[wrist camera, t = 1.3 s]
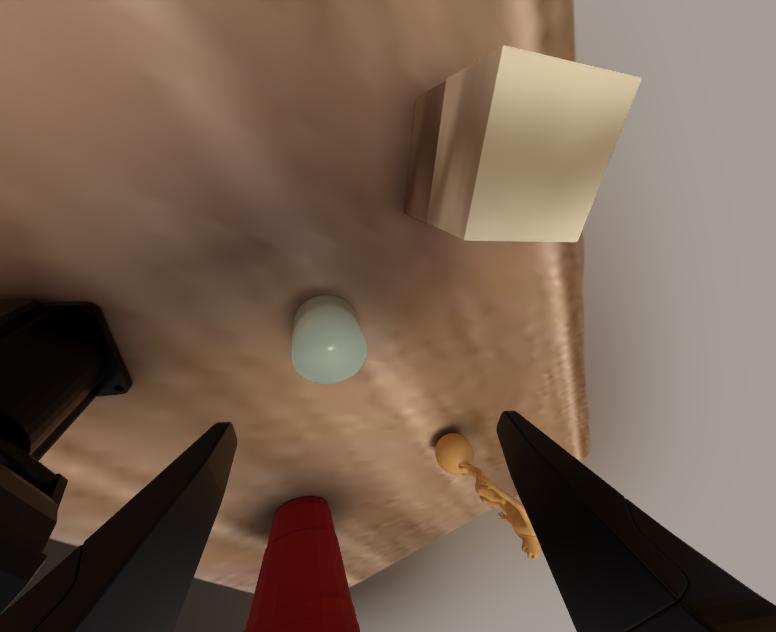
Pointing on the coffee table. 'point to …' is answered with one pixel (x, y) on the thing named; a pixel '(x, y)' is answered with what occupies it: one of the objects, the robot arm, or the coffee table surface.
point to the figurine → (486, 488)
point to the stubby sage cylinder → (327, 340)
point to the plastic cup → (302, 574)
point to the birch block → (525, 146)
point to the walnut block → (423, 152)
